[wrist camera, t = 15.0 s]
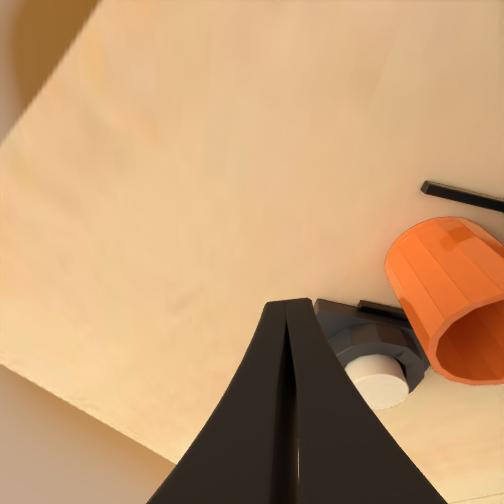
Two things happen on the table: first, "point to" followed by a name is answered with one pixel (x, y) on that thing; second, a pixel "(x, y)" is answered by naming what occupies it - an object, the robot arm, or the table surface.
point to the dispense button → (378, 380)
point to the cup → (453, 296)
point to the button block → (372, 338)
